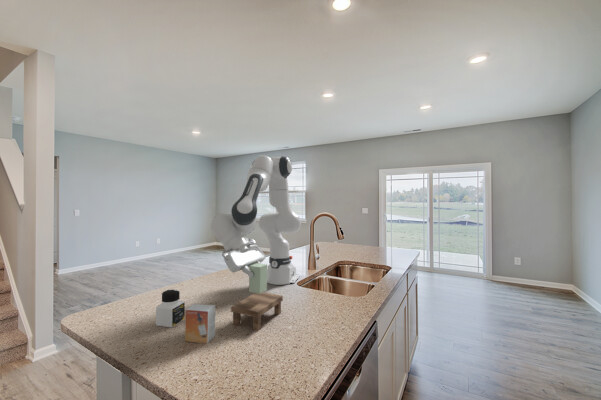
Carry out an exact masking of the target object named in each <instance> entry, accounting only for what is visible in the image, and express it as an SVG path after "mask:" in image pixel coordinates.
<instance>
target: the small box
mask: <svg viewBox="0 0 601 400" xmlns="http://www.w3.org/2000/svg"><path fill="white" fill-rule="evenodd" d="M184 321H185V323H184V324H185V325H184V327H185V328H184V329H185V331H184V342H189V343H190V342H191V343H201V344H207V345H208V343H209V342H210V341H211V340H212V339H213V338H214V337H215V336H216V304H200V303H199V304H197V303H193V304H192V305H191V306H189V307H188V308H186V309H185V320H184Z"/></svg>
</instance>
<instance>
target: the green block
mask: <svg viewBox="0 0 601 400" xmlns="http://www.w3.org/2000/svg"><path fill="white" fill-rule="evenodd" d="M248 269H249V270H251V271H253V272H254V273H255V275H254V276H253V277H251V278H250V277H249V276H248V278H249V279H248V281H249V282H248V284H249V285H248V289H249V290H248V292H249V293H253V294H255V293H259V294H260V293H262V292H264V293H265V291H267V290H268V282H267V269H268V264H267V263H261V264H259V263H256V264H253V265H250V266H249V267H248Z"/></svg>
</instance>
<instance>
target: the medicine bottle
mask: <svg viewBox="0 0 601 400" xmlns="http://www.w3.org/2000/svg"><path fill="white" fill-rule="evenodd" d="M180 292H181V291H180V290H179V289H176V288H172V289H171V288H170V289H166V290H164V291H162V292H161V303H160V304H159V305H157V306H156V307H155V326H157V327H165V328H174V327H176V326H177V325H179V324H180V323H181V322H182V321H185V320H186V309H185V308H186V306H185V305H186V304H185V301H184V300H180V297H181V296H180V294H181V293H180Z"/></svg>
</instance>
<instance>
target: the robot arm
mask: <svg viewBox="0 0 601 400" xmlns="http://www.w3.org/2000/svg"><path fill="white" fill-rule="evenodd" d="M292 170H293V165H292V161H291V159H290V158H289V157H288V156H284V155H283V156H268V155H263V154H261V155H258V156H257V157H256V158H255V159H253V161H252V163H251V166H250V168H249V171H248V174H247V177H246V185H245V187H244V189H243V192H242V194H241V196H240V198H239V199H237V200H236V202H234V204H233V205H232V207H231V210H230V211H231V212H230V213H223V212H221V213H219V214H217V215H216V216H214V217H213V219H212V220H211V222H210V229H211V230H212V233H213V234H214V236H215V237H216V239H217V240H218V241H219V242H220V243H221V245H222V247H223V248H224V250H223V251H222V253H221V256H222V257H223V261H224V262H225V265H226V266H227V268H228V270H229V271H230V272H231V273H237V272H240V271H242V272H243V273H244V274H245V275H248V278H249V277H250V278H251V277H253V276H254V275H255V273H254V272H253V271H251V270H249V266H250V265H253V264H256V263H259V264H262V263H263V261H264V260H265V259H266V254H265V253H264V251H263V250H262V249H261V248H260V247H259V245H257V244H256V243H257V242H256V240H254V239H253V238H247V237H245V236H246V235H249V234H250V233H252V232H253V231H254V230H255V227H256V223H257V214H258V205H257V200H258V197H259V194H260V193H261V192H265V191H266V190H267V189H268V200H269V204H270V206H272V207H273V208H275V209H276V210H277V212H276V213H273V212H272V213H271V212H269V213H265V214H262V215H261V216H260V217H259V220H258V227H259V228H260V229H261V231H263V232H264V234H265V235H266V237H267V240H268V242H269V258H268V261H269V262H268V263H269V264H267V284H270V285H274V286H280V285H281V286H282V285H291V284H290V283H294V284H295V283H296V282H297V281H298V280H299V279H300V277H301V275H300V274H298V273H297V269H296V266H295V265H294V264H292V261H291V260H293V256H292V255H290V243H289V241H288V240H287V239H285V237H283V236H282V234H293V233H294V234H295V233H297V232H299V231H300V229H301V227H302V219H301V218H300V215H298V214H296V212H295V211H294V209H293V208H292V206H291V203H290V198H289V182H288V177H289V176H290V174H291V173H292ZM299 276H300V277H299ZM297 279H298V280H297ZM296 280H297V281H296ZM295 281H296V282H295Z"/></svg>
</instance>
